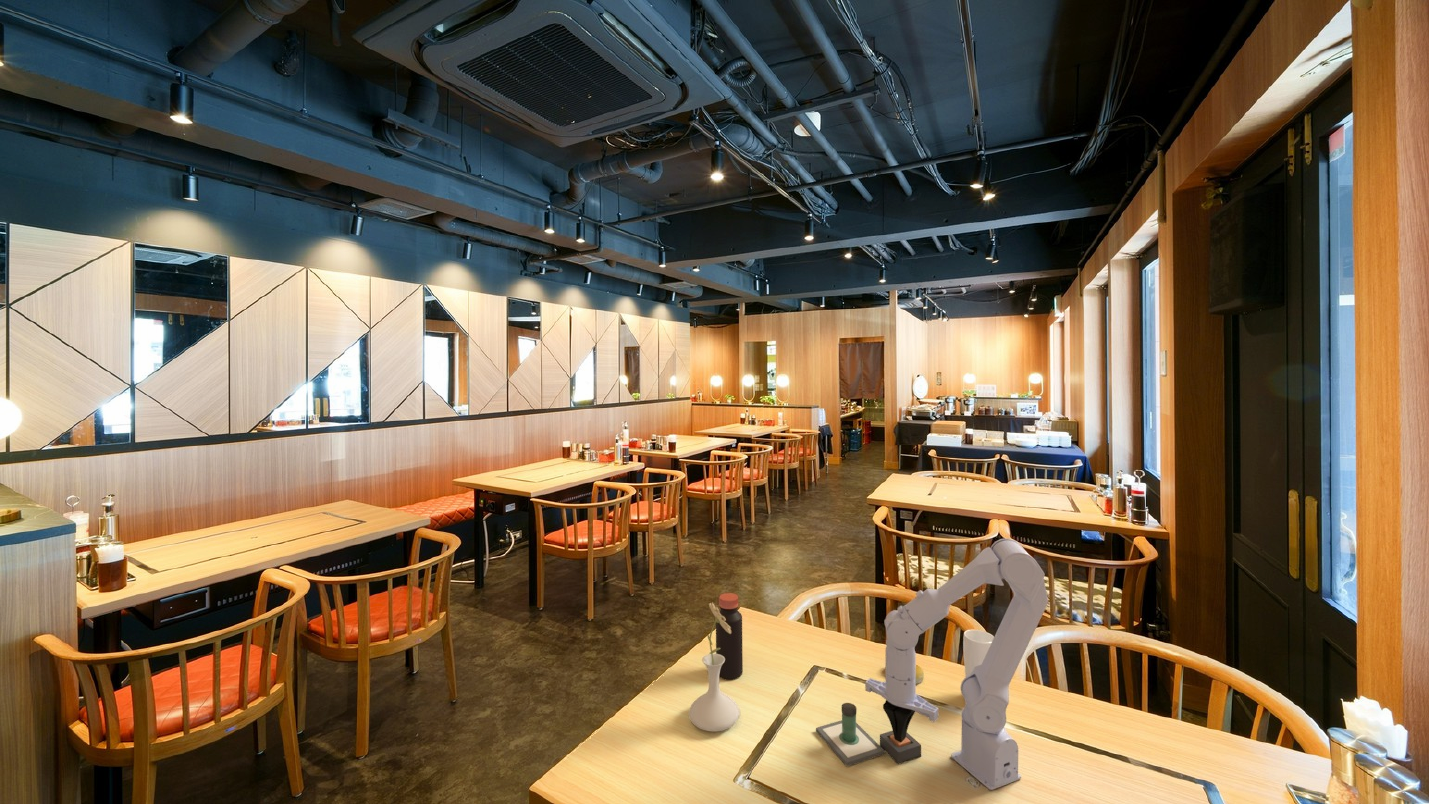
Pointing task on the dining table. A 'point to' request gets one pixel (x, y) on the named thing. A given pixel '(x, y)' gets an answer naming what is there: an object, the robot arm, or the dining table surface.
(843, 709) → the marker
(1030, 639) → the robot arm
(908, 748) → the button housing
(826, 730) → the board
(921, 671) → the bread roll
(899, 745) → the button
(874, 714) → the dining table surface
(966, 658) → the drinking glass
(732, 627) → the bottle
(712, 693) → the flower in vase
